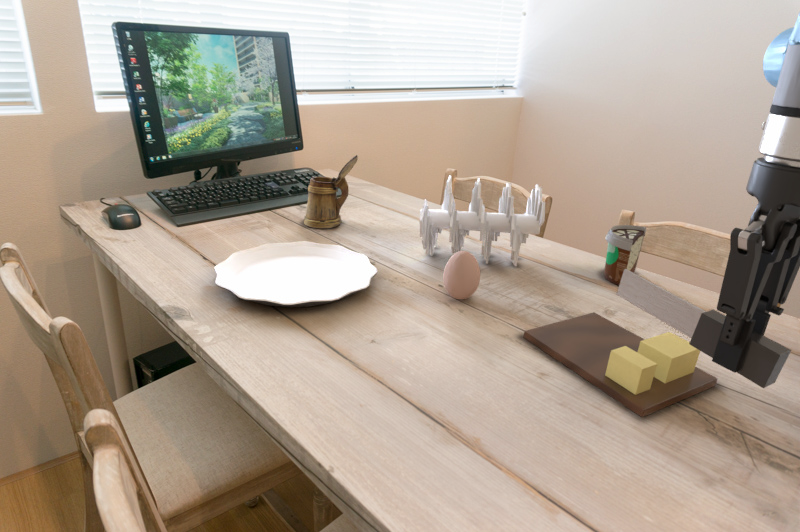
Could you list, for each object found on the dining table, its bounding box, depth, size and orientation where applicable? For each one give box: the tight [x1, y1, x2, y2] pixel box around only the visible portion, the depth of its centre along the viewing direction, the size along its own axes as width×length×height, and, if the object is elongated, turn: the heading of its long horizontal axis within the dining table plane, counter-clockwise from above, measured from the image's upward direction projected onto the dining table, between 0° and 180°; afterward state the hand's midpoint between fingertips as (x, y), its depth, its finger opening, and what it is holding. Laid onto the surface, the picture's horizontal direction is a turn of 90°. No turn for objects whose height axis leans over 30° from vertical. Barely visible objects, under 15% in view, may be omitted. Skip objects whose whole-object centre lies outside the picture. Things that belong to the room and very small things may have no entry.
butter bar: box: [637, 331, 701, 383], centre depth 75 cm, size 5×6×4 cm
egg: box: [442, 250, 481, 300], centre depth 95 cm, size 7×7×9 cm
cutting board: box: [523, 311, 718, 418], centre depth 79 cm, size 22×16×1 cm
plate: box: [213, 240, 378, 308], centre depth 100 cm, size 29×29×2 cm
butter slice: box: [605, 346, 657, 395], centre depth 71 cm, size 5×3×4 cm, turn 30°
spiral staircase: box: [419, 175, 546, 267], centre depth 112 cm, size 18×18×25 cm
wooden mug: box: [303, 154, 359, 229], centre depth 129 cm, size 9×14×18 cm, turn 73°
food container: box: [603, 224, 647, 286], centre depth 109 cm, size 12×6×10 cm, turn 144°
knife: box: [615, 269, 792, 389], centre depth 65 cm, size 21×2×4 cm, turn 30°
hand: (732, 362), depth 62 cm, fingers closed on knife, 2 cm apart
